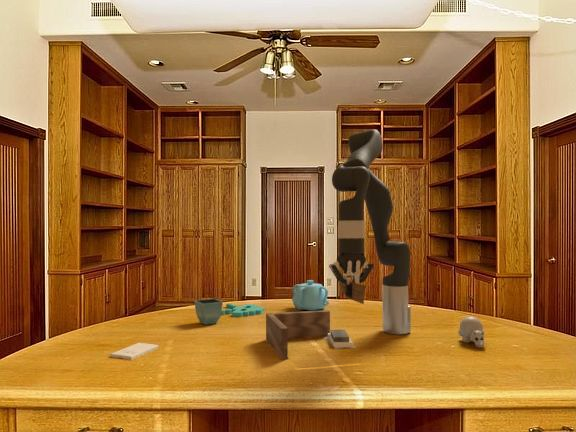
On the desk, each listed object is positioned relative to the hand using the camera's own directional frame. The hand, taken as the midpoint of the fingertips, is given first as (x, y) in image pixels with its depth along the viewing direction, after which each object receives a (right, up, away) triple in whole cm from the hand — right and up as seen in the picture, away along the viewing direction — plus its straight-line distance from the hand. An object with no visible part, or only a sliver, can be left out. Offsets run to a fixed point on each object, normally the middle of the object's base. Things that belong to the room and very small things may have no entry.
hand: (351, 297), depth 121 cm
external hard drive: (-66, -20, +11) cm, 69 cm away
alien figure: (-39, -21, +72) cm, 85 cm away
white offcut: (-1, -19, +20) cm, 27 cm away
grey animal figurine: (+43, -20, +20) cm, 51 cm away
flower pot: (-50, -20, +50) cm, 73 cm away
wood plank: (0, -1, 0) cm, 1 cm away
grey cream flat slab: (-1, -20, +20) cm, 28 cm away
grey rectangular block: (-1, -17, +20) cm, 26 cm away
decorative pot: (-8, -21, +78) cm, 81 cm away
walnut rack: (-13, -19, +17) cm, 28 cm away
